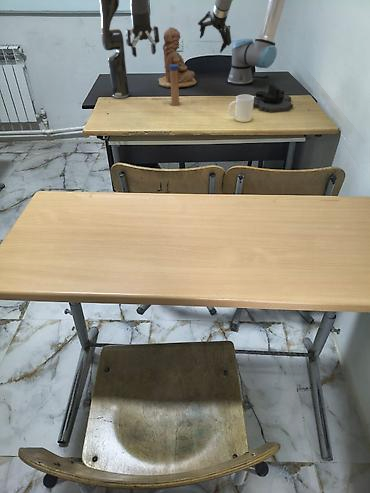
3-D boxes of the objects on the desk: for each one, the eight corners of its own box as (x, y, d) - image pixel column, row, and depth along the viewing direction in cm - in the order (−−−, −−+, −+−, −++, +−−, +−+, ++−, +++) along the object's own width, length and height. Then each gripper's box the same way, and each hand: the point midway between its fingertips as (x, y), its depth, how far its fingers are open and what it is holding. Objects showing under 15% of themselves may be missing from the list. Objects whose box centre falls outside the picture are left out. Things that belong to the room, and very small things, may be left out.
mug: (229, 123, 170) (230, 101, 163) (225, 117, 176) (226, 95, 170) (254, 121, 171) (256, 99, 164) (249, 115, 177) (251, 93, 171)
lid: (168, 68, 184) (168, 64, 183) (178, 67, 184) (178, 63, 183) (169, 70, 180) (169, 66, 179) (179, 69, 181) (179, 66, 179)
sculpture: (197, 88, 213) (196, 30, 194) (156, 89, 214) (152, 31, 194) (196, 75, 234) (196, 22, 215) (159, 76, 235) (156, 23, 215)
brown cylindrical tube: (171, 103, 195) (169, 65, 183) (178, 102, 195) (177, 65, 183) (172, 105, 192) (170, 67, 180) (179, 105, 192) (178, 67, 180)
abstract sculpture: (255, 94, 173) (243, 83, 188) (253, 113, 179) (242, 100, 194) (304, 90, 176) (288, 79, 191) (301, 109, 182) (286, 97, 197)
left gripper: (152, 8, 151) (156, 51, 161) (120, 12, 146) (126, 55, 157) (159, 10, 146) (162, 55, 156) (126, 14, 141) (131, 59, 152)
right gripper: (195, 2, 175) (189, 34, 196) (237, 32, 175) (226, 61, 196) (204, -8, 177) (197, 25, 197) (245, 22, 177) (233, 52, 198)
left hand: (144, 55), depth 157 cm, fingers open, 8 cm apart
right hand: (211, 43), depth 197 cm, fingers open, 13 cm apart
